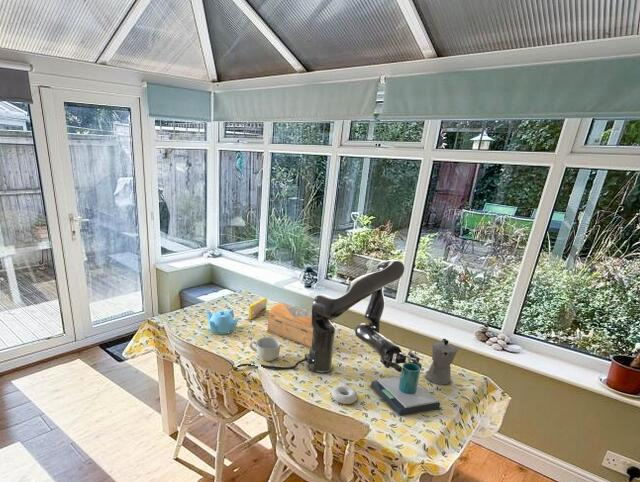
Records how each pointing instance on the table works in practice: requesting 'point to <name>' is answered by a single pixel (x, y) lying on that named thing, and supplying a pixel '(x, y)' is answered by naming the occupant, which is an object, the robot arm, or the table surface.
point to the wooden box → (291, 323)
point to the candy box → (257, 308)
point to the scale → (404, 397)
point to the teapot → (222, 321)
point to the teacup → (266, 348)
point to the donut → (344, 399)
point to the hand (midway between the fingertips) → (410, 368)
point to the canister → (409, 378)
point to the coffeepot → (441, 362)
